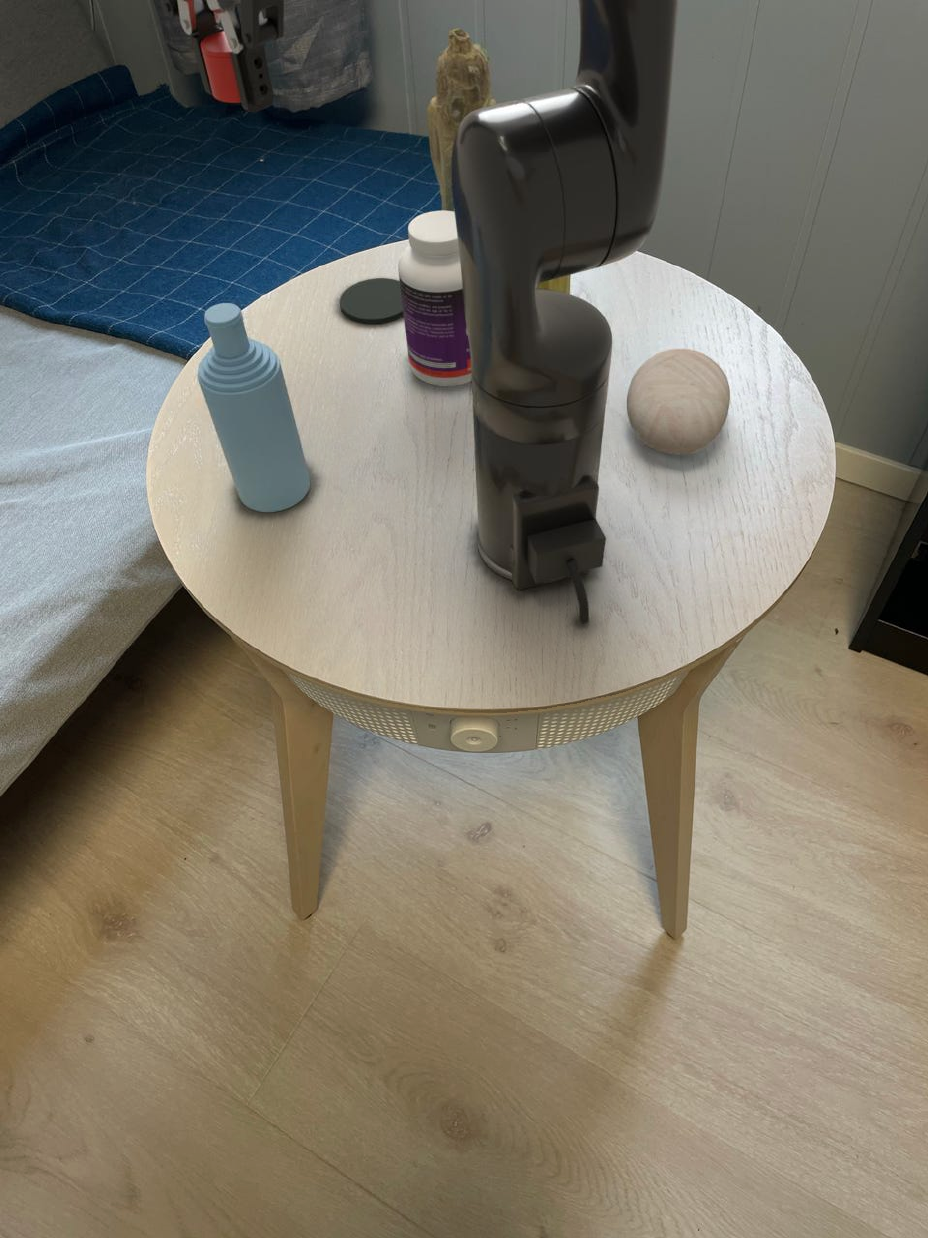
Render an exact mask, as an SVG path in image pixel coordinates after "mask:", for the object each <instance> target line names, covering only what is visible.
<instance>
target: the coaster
mask: <svg viewBox="0 0 928 1238" xmlns="http://www.w3.org/2000/svg"><path fill="white" fill-rule="evenodd" d="M339 306H340V310H341V312H342V314H343V315H344V316H345V317H346V318H347V319H349V320H351V321H353V322H356V323H360V324H365V325H379V324H386V323H389V322H392V321H395V320H398V319H400V318H402V317H404V314H403V305H402V297H401V288H400V280H397V279H393V278H386V277H377V278H369V279H363V280H361V281H358V282H356V283H354V284H352V285H350V286H349V287H348V288H346V289H345V290H344V291H343V292H342V294H341V296H340V299H339Z"/></svg>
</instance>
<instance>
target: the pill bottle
mask: <svg viewBox="0 0 928 1238" xmlns="http://www.w3.org/2000/svg"><path fill="white" fill-rule="evenodd" d="M407 226H408V227H407V234H408V243H409V245H408V246H407V247H406V248H405V249H404V250H403V252H402V253H401V255H400V256H399V260H398V263H397V264H398V265H397V269H398V270H397V271H398V279H399V280H398V281H400V288H401V297H402V305H403V314H404V315H403V321H404V322H403V323H404V331H405V340H406V349H407V357H408V364H409V368H410V369H411V371H412V373H413V374H414V375H415V376H416V377H417V378H418V379H419V380H421V381H422V382H425V383H427V384H429V385H434V386H437V387H455V386H460V385H461V386H462V385H465V384H467V383H470V382H472V380H471V359H470V346H469V340H468V333H467V327H466V321H465V312H464V304H463V289H462V276H461V266H460V256H459V247H458V238H457V230H456V222H455V213H454V212H453V211H442V210H434V211H429V212H424V213H421V214H419V215H417V216H416V217H414V218H413V219H412V220H410V222H409V223H408V225H407Z"/></svg>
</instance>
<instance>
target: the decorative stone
mask: <svg viewBox="0 0 928 1238" xmlns="http://www.w3.org/2000/svg"><path fill="white" fill-rule="evenodd" d="M730 401H731V392H730V384H729V380H728V378H727V375H726V373H725V371H724V370H723V369H722V367H721V366H720V364H718V362H717V361H716V360H714V359H713V358H711V357H710V356H708V355H707V354H705V353H703V352H701V351H698V350H694V349H689V348H673V349H667V350H664V351H660V352H658V353H657V354H655V355H653V356H651V357H650V358H648V359H647V360H645V362H643V363H642V364H641V365H640V367H639V368H638V369H637V370H636V372H635V374H634V375H633V377H632V379H631V382H630V384H629V387H628V391H627V396H626V413H627V417H628V421H629V423H630V426H631V428H632V430H633V431H634V433H635V434H636V435H637V437H638V438H639V440H641V441H642V442H643V443H644V444H646V445H647V446H649V447H650V448H651V449H653V450H656V451H658V452H661V453H664V454H668V455H688V454H693V453H696V452H698V451H700V450H702V449H704V448H706V447H708V446H709V445H710V444H711V443H712V442H714V440H715V439H716V438H717V437H718V436H719V435H720V433H721V431H722V430H723V428H724V425H725V423H726V420H727V417H728V414H729V410H730Z"/></svg>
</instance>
